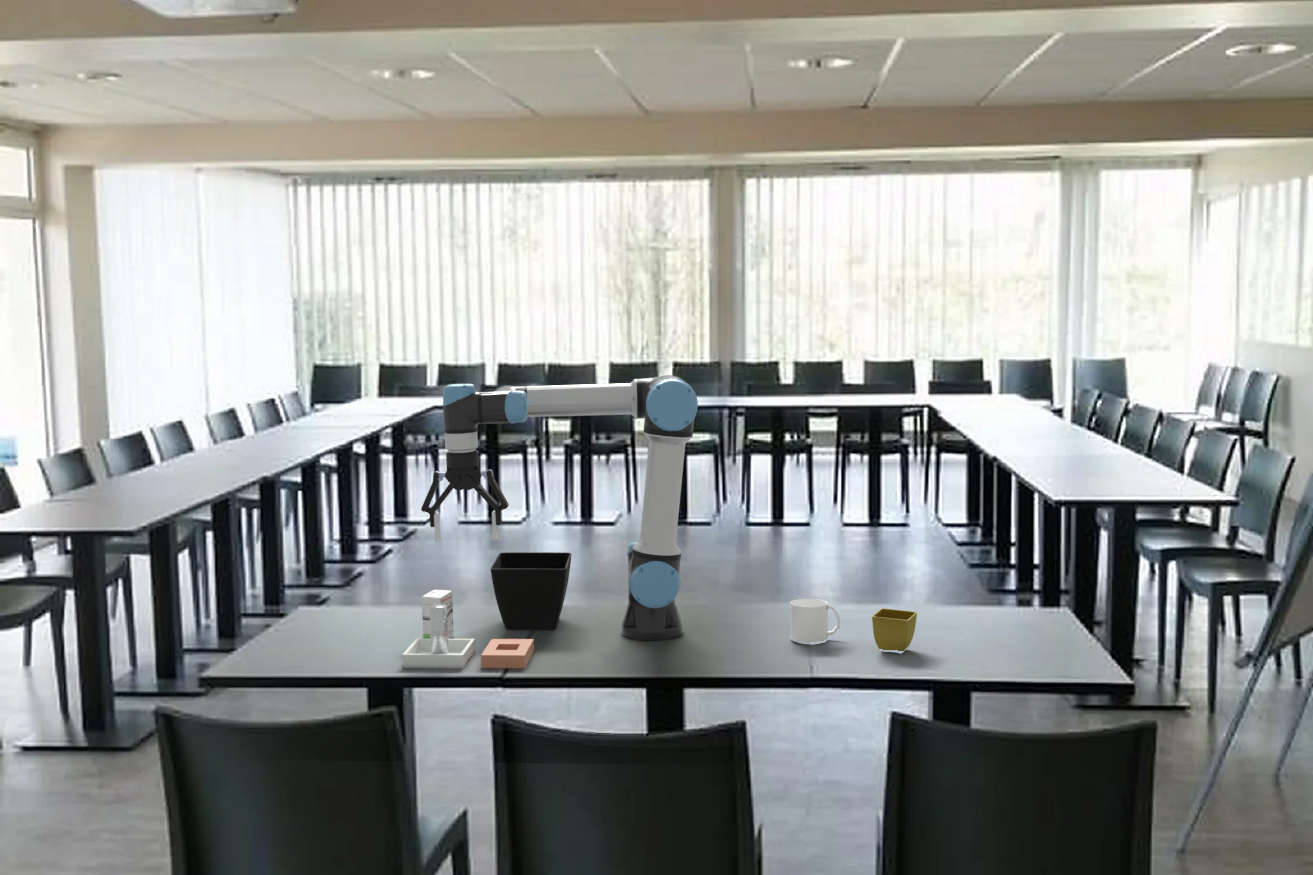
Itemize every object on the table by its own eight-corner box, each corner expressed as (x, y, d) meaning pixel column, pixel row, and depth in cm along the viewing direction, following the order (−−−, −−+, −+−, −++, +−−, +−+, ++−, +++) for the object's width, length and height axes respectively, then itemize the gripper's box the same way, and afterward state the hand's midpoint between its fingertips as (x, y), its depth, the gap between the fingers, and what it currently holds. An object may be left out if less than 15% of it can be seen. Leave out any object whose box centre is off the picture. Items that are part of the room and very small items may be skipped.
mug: (790, 645, 323) (790, 607, 322) (790, 635, 332) (790, 598, 331) (840, 646, 322) (841, 607, 321) (839, 636, 331) (839, 599, 330)
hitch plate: (534, 651, 319) (533, 639, 319) (524, 668, 305) (524, 655, 305) (492, 651, 320) (491, 638, 319) (481, 668, 306) (480, 655, 306)
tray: (475, 651, 320) (474, 638, 319) (463, 668, 306) (462, 655, 305) (416, 651, 320) (416, 638, 320) (402, 668, 306) (402, 654, 306)
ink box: (441, 645, 325) (440, 597, 324) (422, 644, 326) (420, 596, 325) (454, 636, 334) (453, 589, 332) (435, 635, 335) (434, 588, 333)
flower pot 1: (567, 633, 335) (566, 567, 333) (491, 634, 335) (489, 567, 334) (572, 614, 354) (571, 552, 352) (501, 615, 354) (499, 552, 352)
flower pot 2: (917, 648, 319) (917, 611, 318) (908, 658, 311) (908, 620, 310) (881, 644, 323) (881, 607, 321) (870, 653, 315) (871, 616, 314)
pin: (450, 654, 315) (448, 604, 313) (446, 659, 311) (444, 608, 309) (433, 654, 315) (431, 604, 314) (429, 659, 311) (427, 608, 310)
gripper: (517, 446, 317) (521, 535, 320) (412, 450, 318) (417, 538, 321) (513, 450, 310) (517, 541, 312) (405, 454, 311) (410, 544, 313)
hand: (466, 539), depth 317 cm, fingers open, 13 cm apart
